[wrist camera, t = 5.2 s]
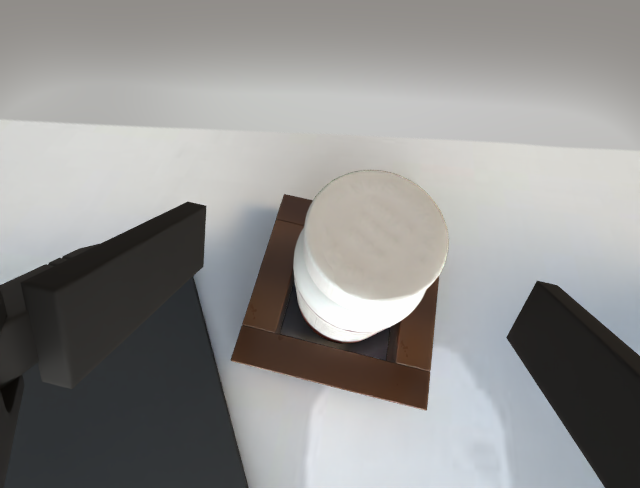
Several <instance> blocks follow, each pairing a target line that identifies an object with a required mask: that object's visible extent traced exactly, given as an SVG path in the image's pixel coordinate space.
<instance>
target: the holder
mask: <svg viewBox="0 0 640 488" xmlns="http://www.w3.org/2000/svg"><path fill="white" fill-rule="evenodd" d="M311 203H312V200H308V199H304V198H299V197H295V196H290V195H286V194H284V196H283V199H282V202H281V205H280V208H279V212H278V215H277V218H276V221H275V224H274V227H273V230H272V233H271V236H270V240H269V243H268V246H267V249H266V252H265V255H264V258H263V261H262V264H261V268H260V271H259V274H258V277H257V280H256V283H255V286H254V289H253V292H252V296H251V299H250V302H249V305H248V308H247V311H246V314H245V317H244V320H243V323H242V324H243V325H242V326H241V330H240V333H239V336H238V339H237V342H236V345H235V348H234V351H233V354H232V358H231V361H233V362H237V363H241V364H245V365H249V366H253V367H256V368H260V369H264V370H268V371H272V372H276V373H280V374H284V375H288V376H292V377H296V378H300V379H304V380H308V381H312V382H315V383H319V384H323V385H327V386H331V387H335V388H339V389H343V390H347V391H351V392H355V393H359V394H363V395H367V396H371V397H374V398H378V399H382V400H386V401H390V402H394V403H398V404H402V405H406V406H410V407H414V408H418V409H422V410H427V403H428V392H429V381H430V372H429V371H430V370H431V359H432V348H433V337H434V325H435V314H436V303H437V292H438V281H439V276H438V277H437V279H436V280H435V281H434V282H433V283H432V284H431V285H430V287H428V288H427V289H426V292H425V294H424V296H423V298H422V299H421V301H420V303H419V304H418V305H417V307H416V308H415V309H414V310H413V311H412V312H411V313H410V314H409V315H408V316H407V317H405V318H404V319H403V320H401V321H400V322H398V323H396V324H394V325H392V326H391V328H390V335H389V342H388V349H387V356H386V361H385V360H381V359H377V358H373V357H369V356H365V355H361V354H357V353H353V352H349V351H345V350H341V349H337V348H333V347H329V346H325V345H321V344H317V343H313V342H309V341H305V340H301V339H297V338H293V337H289V336H285V335H281V334H280V331H281V327H282V323H283V320H284V316H285V312H286V309H287V305H288V301H289V298H290V294H291V291H292V287H293V283H294V270H293V260H294V252H295V247H296V243H297V240H298V238H299V235H300V233H301V231H302V230H303V228H304V225H305V219H306V215H307V212H308V209H309V207H310V205H311Z"/></svg>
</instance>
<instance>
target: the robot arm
mask: <svg viewBox="0 0 640 488" xmlns="http://www.w3.org/2000/svg"><path fill="white" fill-rule="evenodd" d="M205 221H206V206H204V205H200V204H196V203H191V202H186V203H184V204H182V205H180V206H178V207H176V208H174V209H172V210H170V211H168V212H166V213H163V214H161V215H159V216H157V217H155V218H153V219H151V220H149V221H147V222H145V223H143V224H141V225H139V226H136V227H134V228H132V229H130V230H128V231H126V232H124V233H122V234H120V235H118V236H116V237H114V238H112V239H109V240H107V241H105V242H103V243H101V244H97V245H93V246H88V247H84V248H80V249H78V250H75V251H73V252H71V253H69V254H67V255H65V256H63V258H58V259H56V260H54V261H52V262H50V263H49V264H48V265H46V264H45V265H43V266H41V267H39V268H37V269H34V270H32V271H30V272H28V273H26V274H24V275H21V276H19V277H17V278H15V279H13V280H11V281H9V282H6V283H4V284H2V285H0V488H4V483H5V479H6V474H7V469H8V464H9V459H10V454H11V449H12V444H13V439H14V434H15V429H16V425H17V420H18V415H19V410H20V405H21V400H22V395H23V390H24V380H23V375H22V374H23V373H25V372H26V371H27V370H28V369H30V368H31V367H32V366H34V365H35V364H36V363H38V366H39V371H40V376H41V380H42V382H46V383H50V384H54V385H58V386H61V387H65V388H69V389H73V388H74V387H75V386H76V385H77V384H78V383H79V382H80V381H81V380H82V379H84V378H85V377H86V376H87V375H88V374H89V373H90V372H91V371H92V370H93V369H94V368H95V367H96V366H97V365H99V364H100V363H101V362H102V361H103V360H104V359H105V358H106V357H107V356H108V355H109V354H110V353H111V352H112V351H113V350H115V349H116V348H117V347H118V346H119V345H120V344H121V343H122V342H123V341H124V340H125V339H126V338H127V337H128V336H129V335H131V334H132V333H133V332H134V331H135V330H136V329H137V328H138V327H139V326H140V325H141V324H142V323H143V322H144V321H146V320H147V319H148V318H149V317H150V316H151V315H152V314H153V313H154V312H155V311H156V310H157V309H158V308H159V307H160V306H162V305H163V304H164V303H165V302H166V301H167V300H168V299H169V298H170V297H171V296H172V295H173V294H174V293H175V292H176V291H178V290H179V289H180V288H181V287H182V286H183V285H184V284H185V283H186V282H187V281H188V280H189V279H190V278H191V277H192V276H194V275H195V274H196V273H197V272H198V271H199V270H200V269H201V268H202V267H203V262H204V241H205ZM507 339H508V341H509V342H510V344H511V345H512V347H513V348H514V350H515V351H516V353H517V354H518V356H519V357H520V359H521V360H522V362H523V363H524V365H525V367H526V368H527V370H528V371H529V373H530V374H531V376H532V377H533V379H534V380H535V382H536V383H537V385H538V386H539V388H540V389H541V391H542V392H543V394H544V395H545V397H546V398H547V400H548V401H549V403H550V405H551V406H552V408H553V409H554V411H555V412H556V414H557V415H558V417H559V418H560V420H561V421H562V423H563V424H564V426H565V427H566V429H567V430H568V432H569V433H570V435H571V436H572V438H573V440H574V441H575V443H576V444H577V446H578V447H579V449H580V450H581V452H582V453H583V455H584V456H585V458H586V459H587V461H588V462H589V464H590V465H591V467H592V468H593V470H594V471H595V473H596V474H597V476H598V478H599V479H600V481H601V482H602V484H603V485H604V487H605V488H640V356H639V355H638V354H637V353H636V352H634V351H633V350H632V349H631V348H630V347H629V346H627V345H626V344H625V343H624V342H623V341H622V340H620V339H619V338H618V337H617V336H616V335H615V334H613V333H612V332H611V331H610V330H609V329H608V328H606V327H605V326H604V325H603V324H602V323H601V322H599V321H598V320H597V319H596V318H595V317H594V316H592V315H591V314H590V313H589V312H588V311H587V310H585V309H584V308H583V307H582V306H581V305H580V304H578V303H577V302H576V301H575V300H574V299H573V298H571V297H570V296H569V295H568V294H567V293H566V292H564V291H563V290H562V289H561V288H560V287H559V286H557V285H553V284H549V283H545V282H540V281H537V282H536V284H535V286H534V287H533V289H532V291H531V293H530V295H529V297H528V299H527V300H526V302H525V304H524V306H523V308H522V310H521V312H520V313H519V315H518V317H517V319H516V321H515V323H514V325H513V326H512V328H511V330H510V332H509V334H508V336H507Z"/></svg>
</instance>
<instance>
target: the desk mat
mask: <svg viewBox="0 0 640 488" xmlns="http://www.w3.org/2000/svg"><path fill="white" fill-rule="evenodd" d="M22 375H23V380H24V390H23V395H22V400H21V405H20V410H19V415H18V420H17V425H16V429H15V434H14V439H13V444H12V449H11V454H10V459H9V464H8V469H7V474H6V479H5V483H4V488H248V484H247V480H246V476H245V472H244V469H243V465H242V461H241V457H240V453H239V449H238V446H237V442H236V438H235V434H234V430H233V427H232V423H231V419H230V415H229V411H228V408H227V404H226V400H225V396H224V392H223V389H222V385H221V381H220V377H219V373H218V369H217V366H216V362H215V358H214V354H213V350H212V347H211V343H210V339H209V335H208V331H207V328H206V324H205V320H204V316H203V312H202V309H201V305H200V301H199V297H198V293H197V289H196V286H195V282H194V278H193V276H192V277H191V278H190V279H189V280H188V281H187V282H186V283H185V284H184V285H183V286H182V287H181V288H180V289H179V290H178V291H176V292H175V293H174V294H173V295H172V296H171V297H170V298H169V299H168V300H167V301H166V302H165V303H164V304H163V305H162V306H160V307H159V308H158V309H157V310H156V311H155V312H154V313H153V314H152V315H151V316H150V317H149V318H148V319H147V320H146V321H144V322H143V323H142V324H141V325H140V326H139V327H138V328H137V329H136V330H135V331H134V332H133V333H132V334H131V335H129V336H128V337H127V338H126V339H125V340H124V341H123V342H122V343H121V344H120V345H119V346H118V347H117V348H116V349H115V350H113V351H112V352H111V353H110V354H109V355H108V356H107V357H106V358H105V359H104V360H103V361H102V362H101V363H100V364H99V365H97V366H96V367H95V368H94V369H93V370H92V371H91V372H90V373H89V374H88V375H87V376H86V377H85V378H84V379H82V380H81V381H80V382H79V383H78V384H77V385H76V386H75V387H74V388H73V389H69V388H65V387H61V386H58V385H54V384H50V383H46V382H42V380H41V376H40V371H39V366H38V363H36V364H35V365H34V366H32V367H31V368H30V369H28V370H27V371H26V372H25V373H23V374H22Z"/></svg>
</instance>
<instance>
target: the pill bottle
mask: <svg viewBox="0 0 640 488" xmlns="http://www.w3.org/2000/svg"><path fill="white" fill-rule="evenodd" d="M448 244H449V239H448V231H447V226H446V223H445V220H444V218H443V215H442V213H441V211H440V209H439V208H438V206H437V205H436V203H435V202H434V201H433V199H432V198H431V197H430V196H429V195H428V194H427V193H426V192H425V191H424V190H423V189H422V188H420V187H419V186H418V185H416V184H415V183H413V182H411V181H410V180H408V179H406V178H404V177H402V176H400V175H397V174H394V173H390V172H386V171H379V170H363V171H356V172H351V173H348V174H345V175H343V176H341V177H339V178H336V179H334V180H333V181H331V182H330V183H329V184H327V185H326V186H325V187H324V188H323V189H322V190H321V191H320V192H319V193H318V194H317V195H316V197H315V198H314V200H313V201H312V203H311V205H310V207H309V209H308V212H307V215H306V219H305V225H304V228H303V230H302V231H301V233H300V235H299V238H298V240H297V243H296V247H295V252H294V260H293V270H294V280H295V287H296V292H297V299H298V305H299V309H300V311H301V314H302V316H303V318H304V320H305V322H306V323H307V325H308V326H309V327H310V328H311V329H312V330H313V331H314V332H315V333H316V334H318V335H319V336H321V337H322V338H324V339H327V340H329V341H332V342H336V343H355V342H359V341H362V340H364V339H366V338H368V337H370V336H372V335H374V334H376V333H378V332H380V331H382V330H384V329H386V328H389V327H391V326H392V325H394V324H396V323H398V322H400V321H401V320H403V319H404V318H405V317H407V316H408V315H409V314H410V313H411V312H412V311H413V310H414V309H415V308H416V307H417V305H418V304H419V303H420V301H421V299H422V298H423V296H424V294H425V292H426V289H427V288H428V287H430V285H431V284H432V283H433V282H434V281H435V280H436V279H437V277H438V276H439V274H440V273H441V271H442V269H443V267H444V264H445V262H446V257H447V253H448Z"/></svg>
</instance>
